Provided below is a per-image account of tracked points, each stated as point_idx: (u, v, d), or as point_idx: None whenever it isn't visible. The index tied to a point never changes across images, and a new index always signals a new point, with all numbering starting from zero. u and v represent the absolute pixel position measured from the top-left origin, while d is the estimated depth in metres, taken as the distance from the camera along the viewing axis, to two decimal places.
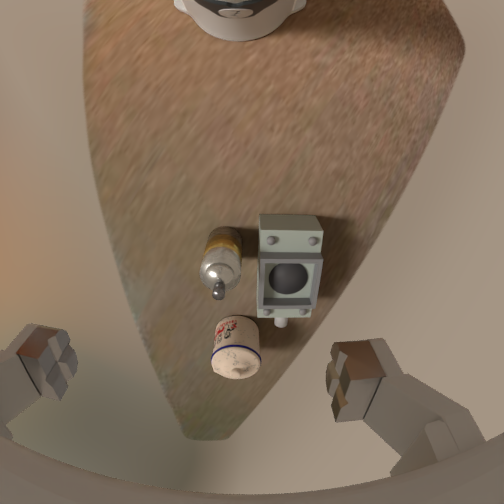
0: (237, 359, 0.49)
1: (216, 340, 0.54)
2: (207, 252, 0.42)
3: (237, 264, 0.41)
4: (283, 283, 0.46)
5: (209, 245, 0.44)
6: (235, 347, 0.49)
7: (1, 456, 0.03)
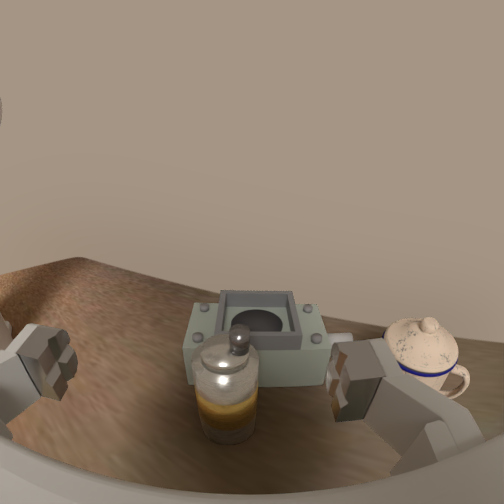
0: (404, 335, 0.26)
1: None
2: (200, 393, 0.23)
3: None
4: (264, 327, 0.34)
5: (201, 406, 0.24)
6: None
7: (1, 456, 0.03)
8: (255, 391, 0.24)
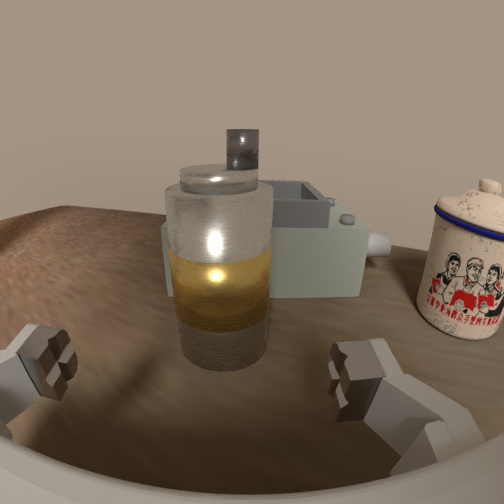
0: (464, 197, 0.18)
1: (483, 280, 0.16)
2: (175, 248, 0.15)
3: None
4: None
5: (176, 281, 0.15)
6: (447, 211, 0.18)
7: (1, 456, 0.03)
8: (268, 249, 0.15)
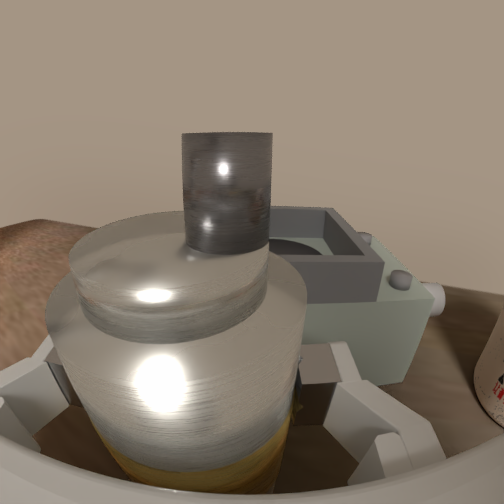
0: None
1: None
2: (89, 416, 0.05)
3: None
4: None
5: None
6: None
7: (1, 456, 0.03)
8: (288, 415, 0.06)
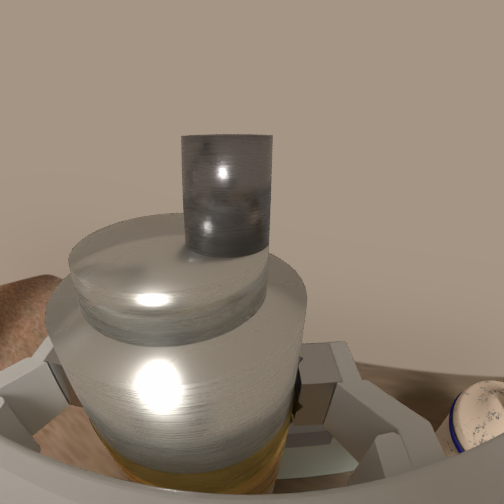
0: (484, 418, 0.13)
1: None
2: (89, 418, 0.05)
3: None
4: None
5: None
6: (459, 439, 0.13)
7: (1, 456, 0.03)
8: (287, 417, 0.06)
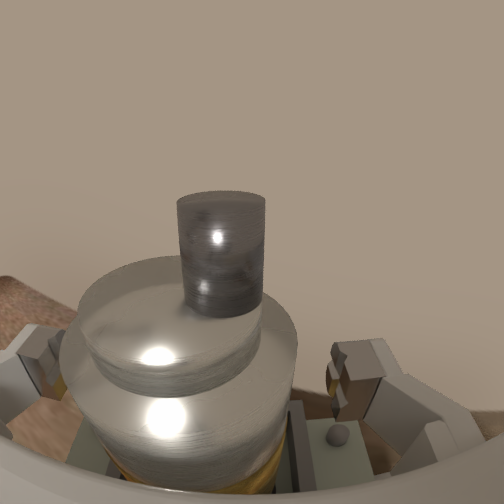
0: None
1: None
2: None
3: None
4: None
5: None
6: None
7: (1, 456, 0.03)
8: (280, 442, 0.07)
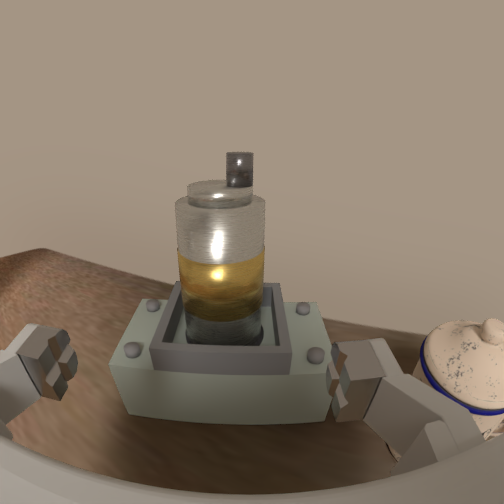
0: (458, 349, 0.14)
1: None
2: (184, 251, 0.18)
3: None
4: None
5: (184, 279, 0.19)
6: (431, 371, 0.14)
7: (1, 456, 0.03)
8: (261, 253, 0.19)
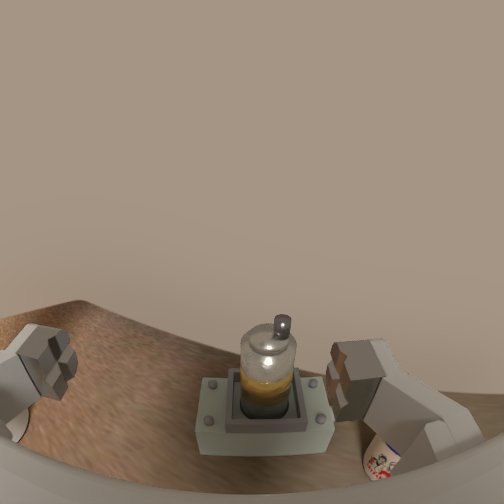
0: None
1: None
2: (248, 374, 0.29)
3: None
4: None
5: (246, 385, 0.29)
6: None
7: (1, 456, 0.03)
8: (292, 370, 0.30)
